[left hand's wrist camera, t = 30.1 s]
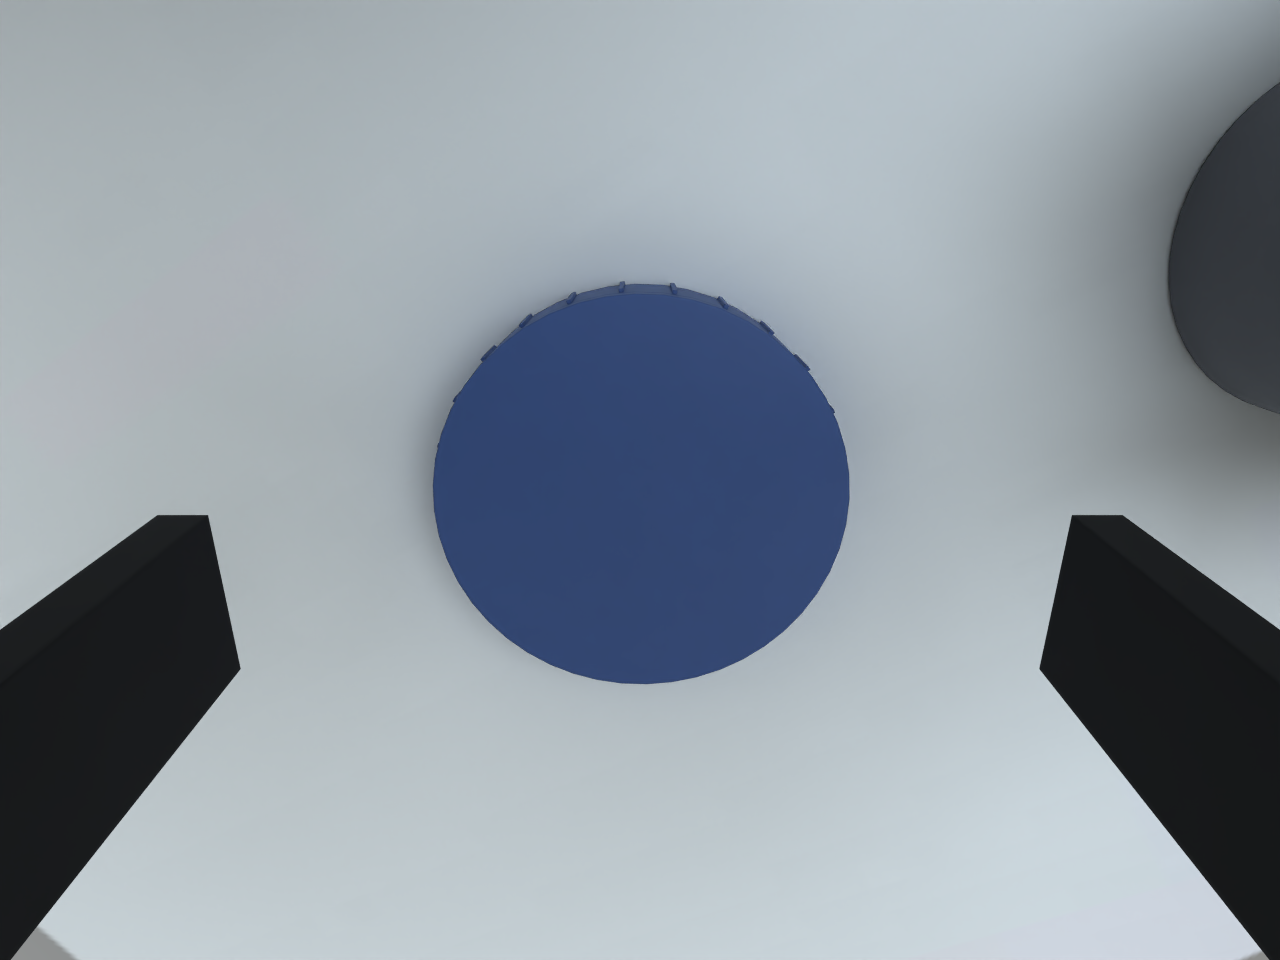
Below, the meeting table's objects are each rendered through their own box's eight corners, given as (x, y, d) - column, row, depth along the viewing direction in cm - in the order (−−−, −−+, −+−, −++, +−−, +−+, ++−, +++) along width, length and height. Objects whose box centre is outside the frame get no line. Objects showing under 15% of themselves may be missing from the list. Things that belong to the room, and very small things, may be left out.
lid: (648, 705, 23) (649, 753, 21) (372, 483, 21) (344, 513, 19) (911, 469, 21) (940, 498, 19) (631, 189, 19) (629, 189, 17)
